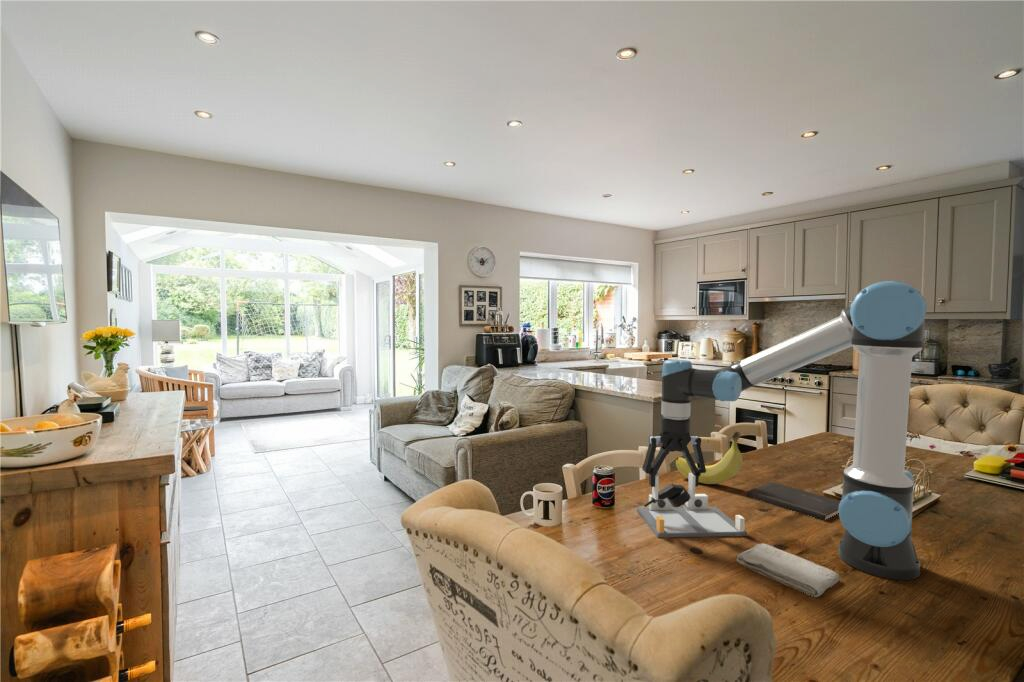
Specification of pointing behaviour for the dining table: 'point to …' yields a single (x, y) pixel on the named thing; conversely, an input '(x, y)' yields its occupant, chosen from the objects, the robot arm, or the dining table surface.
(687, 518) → the board
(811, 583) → the washcloth
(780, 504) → the hardcover book
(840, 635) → the dining table surface
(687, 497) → the power plug
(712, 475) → the banana
